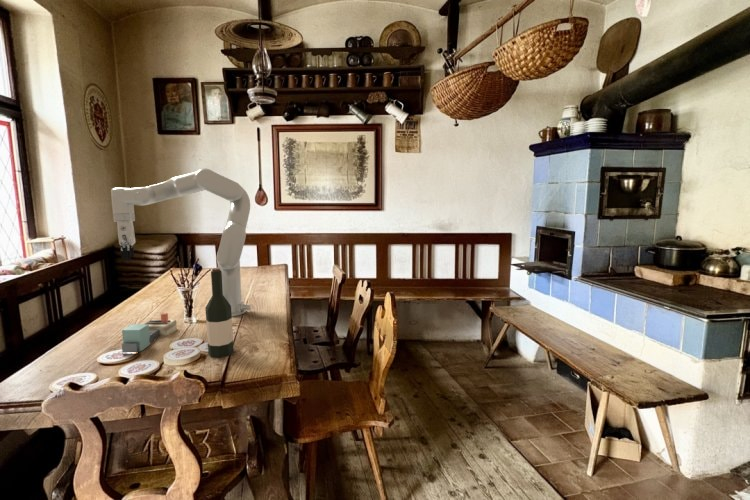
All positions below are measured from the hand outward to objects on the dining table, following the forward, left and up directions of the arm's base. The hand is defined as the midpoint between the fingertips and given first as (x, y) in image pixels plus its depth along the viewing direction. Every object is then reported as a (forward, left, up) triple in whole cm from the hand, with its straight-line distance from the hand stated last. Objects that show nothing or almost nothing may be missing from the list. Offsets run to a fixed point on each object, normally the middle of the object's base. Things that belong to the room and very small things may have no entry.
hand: (128, 258), depth 170 cm
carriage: (-18, +30, -28) cm, 45 cm away
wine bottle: (-49, +34, -28) cm, 66 cm away
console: (-17, +13, -28) cm, 35 cm away
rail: (-18, +26, -28) cm, 42 cm away
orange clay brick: (-20, +13, -24) cm, 34 cm away
